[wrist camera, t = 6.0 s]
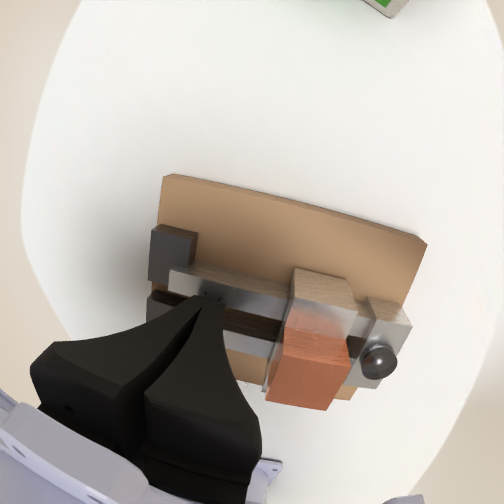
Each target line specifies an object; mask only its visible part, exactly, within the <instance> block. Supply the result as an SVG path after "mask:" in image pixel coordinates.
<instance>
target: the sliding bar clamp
mask: <svg viewBox="0 0 504 504" xmlns="http://www.w3.org/2000/svg"><path fill="white" fill-rule="evenodd" d="M197 240H198V232H194V231H190V230H186V229H181V228H177V227H173V226H169V225H165V224H160V225H158V226H157V227H155V228H154V229H152V231H151V242H150V254H149V268H148V280H150V281H153V282H156V283H160V284H163V285H166V286H168V291H172V292H175V293H179V294H182V295H186V296H189V297H191V296H193V295H197V296H201V297H204V298H208V299H211V300H215V301H219V302H222V303H224V305H225V307H229V308H233V309H237V310H241V311H245V312H249V313H253V314H257V315H261V316H265V317H269V318H273V319H277V320H282V321H283V319H284V316H285V313H286V310H287V306H288V303H289V300H290V292H291V284H288V283H284V282H280V281H276V280H272V279H268V278H264V277H260V276H256V275H252V274H248V273H244V272H240V271H236V270H232V269H228V268H224V267H221V266H217V265H213V264H209V263H205V262H201V261H197V260H195V253H196V246H197ZM187 299H188V298H184V297H181V296H177V295H174V294H171V293H167V292H164V291H161V290H157V289H155V290H154V291H153V292H152V293H151V294H150V296H149V297H148V298H147V311H146V323H147V322H149V321H151V320H153V319H155V318H157V317H159V316H160V315H162V314H164V313H166V312H167V311H169V310H171V309H172V308H174V307H176V306H177V305H179V304H181V303H182V302H184V301H185V300H187ZM354 300H355V303H356V306H357V309H358V313H357V316H356V318H355V320H354V322H353V325H352V327H351V329H350V331H349V333H348V335H349V338H348V339H346V344H347V349H348V353H349V358H350V363H351V369H350V371H349V373H348V375H347V377H346V378H345V380H344V382H343V385H347V386H355V387H362V388H371V389H376V388H377V387H378V385H379V383H380V382H381V380H382V379H383V378H385V377H387V376H389V375H390V374H391V373H392V372H393V371H394V370H395V368H396V366H397V358H396V356H397V354H398V353H399V351H400V349H401V347H402V346H403V344H404V342H405V340H406V338H407V336H408V335H409V333H410V331H411V329H412V327H413V326H412V324H411V322H410V321H409V319H408V317H407V315H406V314H405V312H404V310H403V309H402V307H401V305H400V303H395V302H391V301H387V300H382V299H378V298H374V297H369V296H367V297H366V300H365V301H360V300H356V299H354ZM222 326H223V337H224V343H225V348H227V349H230V350H234V351H238V352H242V353H246V354H250V355H254V356H259V357H263V358H267V359H270V357H271V355H272V352H273V349H274V346H275V343H276V340H277V337H278V334H279V331H280V328H281V324H276V323H272V322H268V321H264V320H260V319H256V318H252V317H248V316H244V315H240V314H236V313H232V312H228V311H225V310H224V314H223V319H222Z"/></svg>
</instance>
